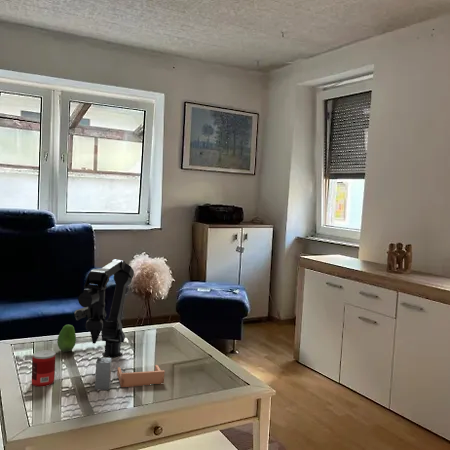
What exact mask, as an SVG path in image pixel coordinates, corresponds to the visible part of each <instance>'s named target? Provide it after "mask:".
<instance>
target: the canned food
mask: <svg viewBox="0 0 450 450" xmlns="http://www.w3.org/2000/svg"><path fill="white" fill-rule="evenodd" d="M56 355H57V354H56V351H55V350H50V349H44V350H43V349H42V350H38V351H35V352H34V353H33V354H32V357H31V360H32V362H31V384H32V386H34V387H47V386H51V385H52V384H54V381H55V374H56V373H55V372H56V359H57V358H56Z"/></svg>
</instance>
